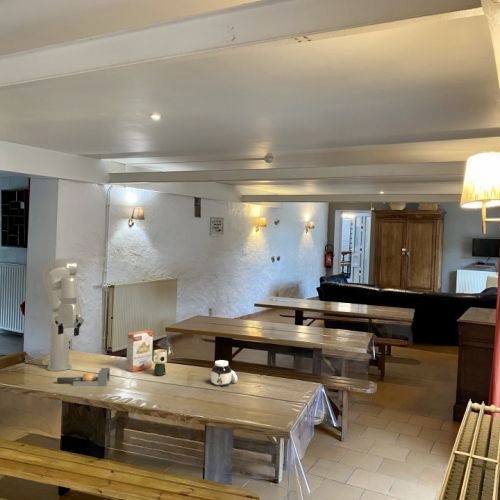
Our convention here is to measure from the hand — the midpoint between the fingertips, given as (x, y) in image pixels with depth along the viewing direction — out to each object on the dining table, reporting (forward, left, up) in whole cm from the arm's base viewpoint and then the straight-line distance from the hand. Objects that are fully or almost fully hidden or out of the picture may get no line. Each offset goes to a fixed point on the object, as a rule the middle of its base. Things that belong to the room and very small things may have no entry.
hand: (68, 334), depth 246 cm
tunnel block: (+12, -3, -24) cm, 27 cm away
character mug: (+45, +10, -24) cm, 52 cm away
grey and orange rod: (+5, -3, -24) cm, 25 cm away
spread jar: (+79, -7, -24) cm, 83 cm away
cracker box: (+33, +21, -24) cm, 46 cm away
